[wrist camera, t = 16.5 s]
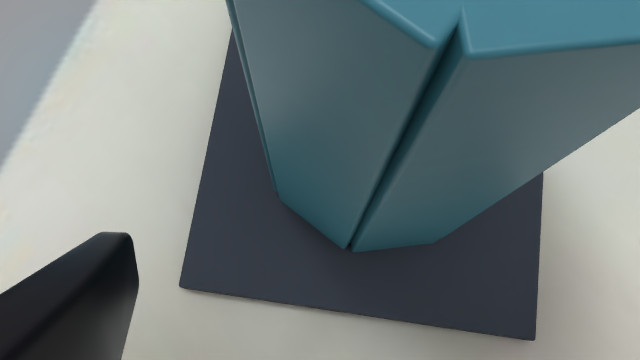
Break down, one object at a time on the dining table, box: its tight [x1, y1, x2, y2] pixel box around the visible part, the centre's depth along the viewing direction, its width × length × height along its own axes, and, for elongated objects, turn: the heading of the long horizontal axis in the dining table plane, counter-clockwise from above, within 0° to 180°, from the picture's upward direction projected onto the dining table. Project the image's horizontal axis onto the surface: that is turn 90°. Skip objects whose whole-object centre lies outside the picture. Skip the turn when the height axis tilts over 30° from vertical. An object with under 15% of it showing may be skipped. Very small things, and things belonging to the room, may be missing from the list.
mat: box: [179, 27, 543, 341], centre depth 17 cm, size 10×10×1 cm
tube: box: [226, 0, 640, 253], centre depth 11 cm, size 6×6×12 cm
